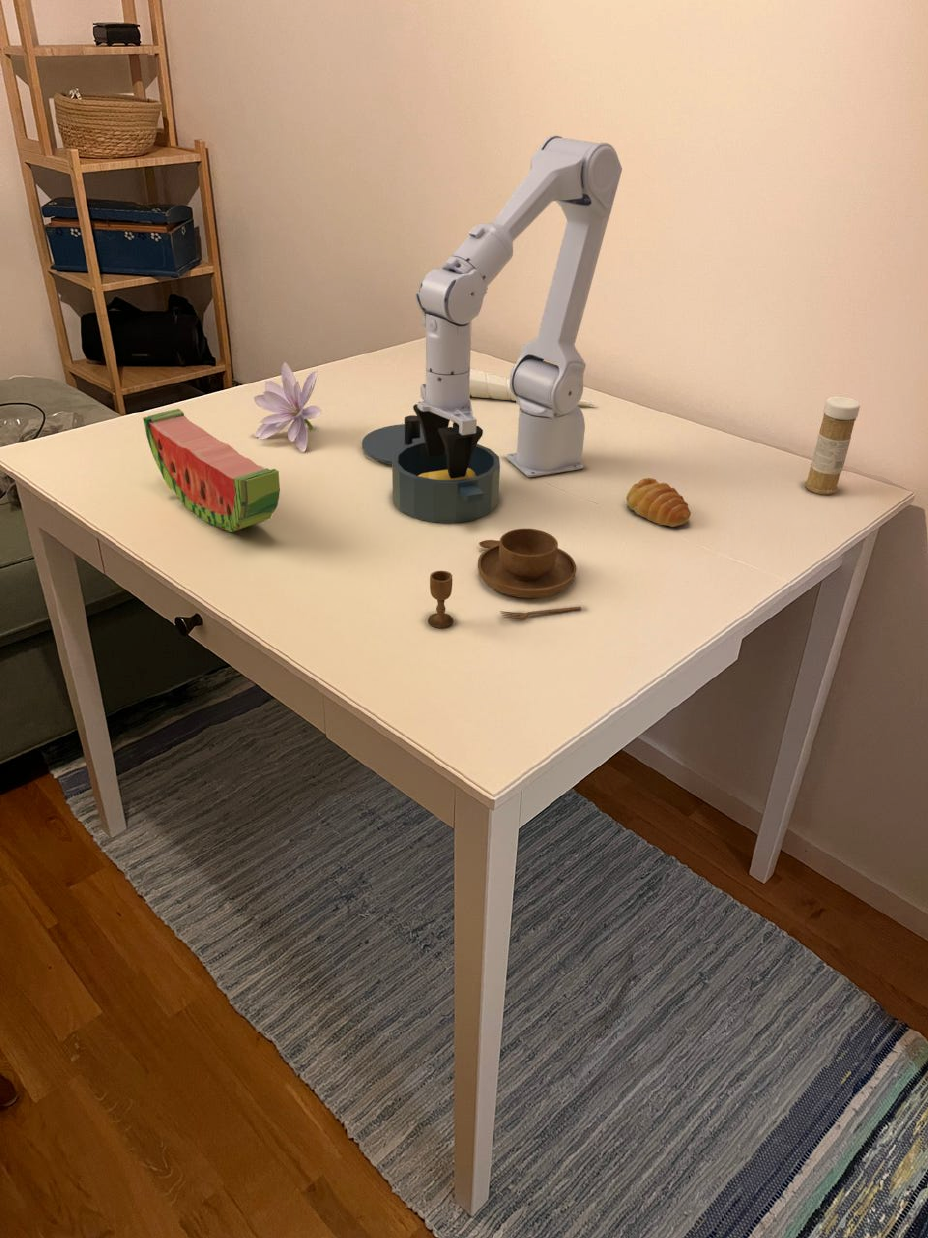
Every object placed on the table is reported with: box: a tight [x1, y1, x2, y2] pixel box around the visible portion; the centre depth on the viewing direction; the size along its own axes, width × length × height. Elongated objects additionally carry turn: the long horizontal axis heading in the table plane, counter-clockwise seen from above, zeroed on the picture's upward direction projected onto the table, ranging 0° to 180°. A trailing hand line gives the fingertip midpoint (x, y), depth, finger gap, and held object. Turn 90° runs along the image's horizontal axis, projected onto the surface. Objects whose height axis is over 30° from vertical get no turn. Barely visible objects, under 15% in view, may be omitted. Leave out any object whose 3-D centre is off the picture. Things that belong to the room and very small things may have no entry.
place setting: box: [427, 528, 582, 629], centre depth 110 cm, size 18×20×6 cm
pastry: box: [625, 477, 692, 528], centre depth 127 cm, size 9×7×4 cm
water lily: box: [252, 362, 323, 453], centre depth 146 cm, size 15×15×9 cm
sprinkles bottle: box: [805, 395, 861, 495], centre depth 133 cm, size 5×5×13 cm
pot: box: [391, 438, 501, 524], centre depth 129 cm, size 15×20×6 cm
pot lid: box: [361, 414, 424, 465], centre depth 143 cm, size 16×16×5 cm
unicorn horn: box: [469, 367, 595, 407], centre depth 162 cm, size 5×24×5 cm, turn 75°
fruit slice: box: [142, 408, 281, 533], centre depth 123 cm, size 26×6×10 cm, turn 41°
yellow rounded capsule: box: [419, 468, 477, 480], centre depth 129 cm, size 9×4×4 cm, turn 114°
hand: (446, 465), depth 128 cm, fingers open, 7 cm apart
